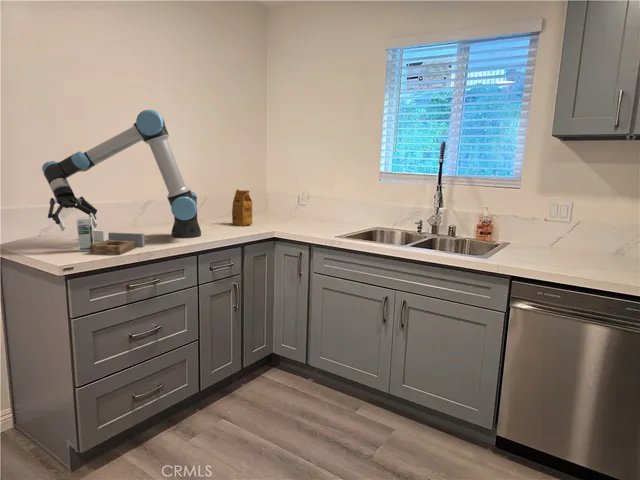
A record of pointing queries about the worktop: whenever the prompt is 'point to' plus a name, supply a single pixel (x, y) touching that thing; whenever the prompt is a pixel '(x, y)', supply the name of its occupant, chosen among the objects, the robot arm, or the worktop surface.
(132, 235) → the backstop wall
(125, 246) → the tray
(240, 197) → the coffee package
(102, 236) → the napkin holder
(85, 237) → the syrup box
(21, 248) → the worktop surface
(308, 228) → the worktop surface
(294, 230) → the worktop surface
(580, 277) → the worktop surface
